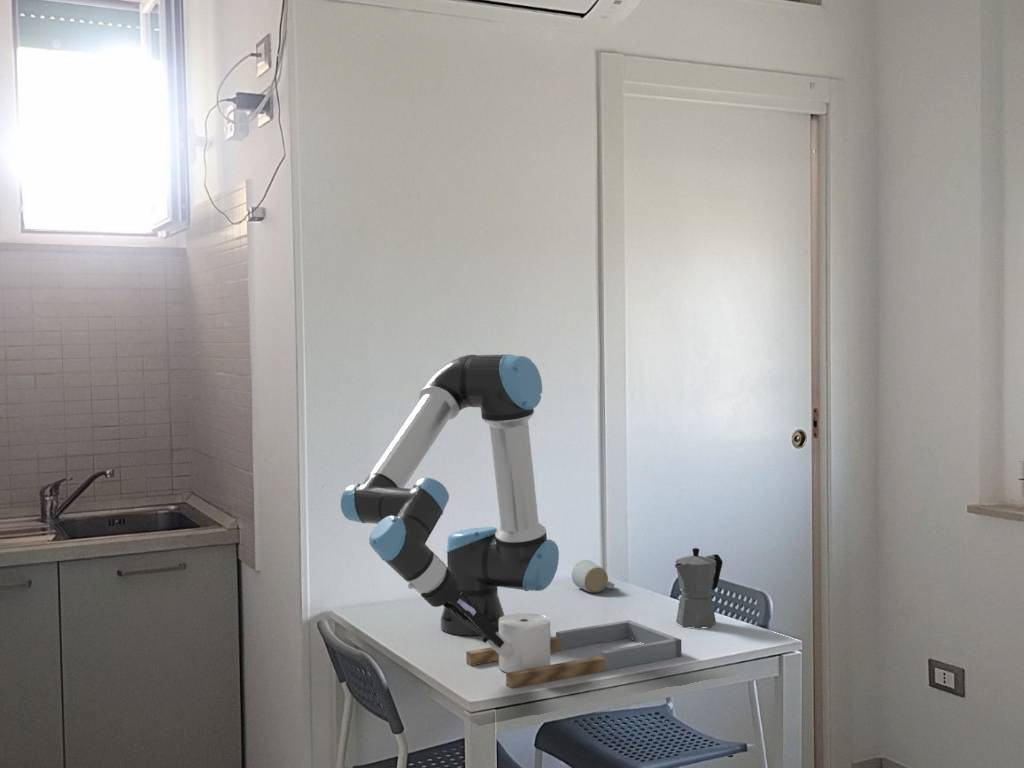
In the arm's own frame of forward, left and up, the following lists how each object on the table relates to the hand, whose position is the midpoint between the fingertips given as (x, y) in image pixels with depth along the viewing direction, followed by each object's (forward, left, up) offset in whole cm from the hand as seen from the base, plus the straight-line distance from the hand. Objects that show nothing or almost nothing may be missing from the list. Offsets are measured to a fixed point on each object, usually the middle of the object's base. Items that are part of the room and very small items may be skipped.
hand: (508, 653), depth 223 cm
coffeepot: (+37, +46, -5) cm, 59 cm away
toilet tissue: (+3, +4, -4) cm, 7 cm away
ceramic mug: (+9, +76, -5) cm, 77 cm away
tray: (+20, +19, -4) cm, 27 cm away
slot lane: (+4, +6, -4) cm, 8 cm away
